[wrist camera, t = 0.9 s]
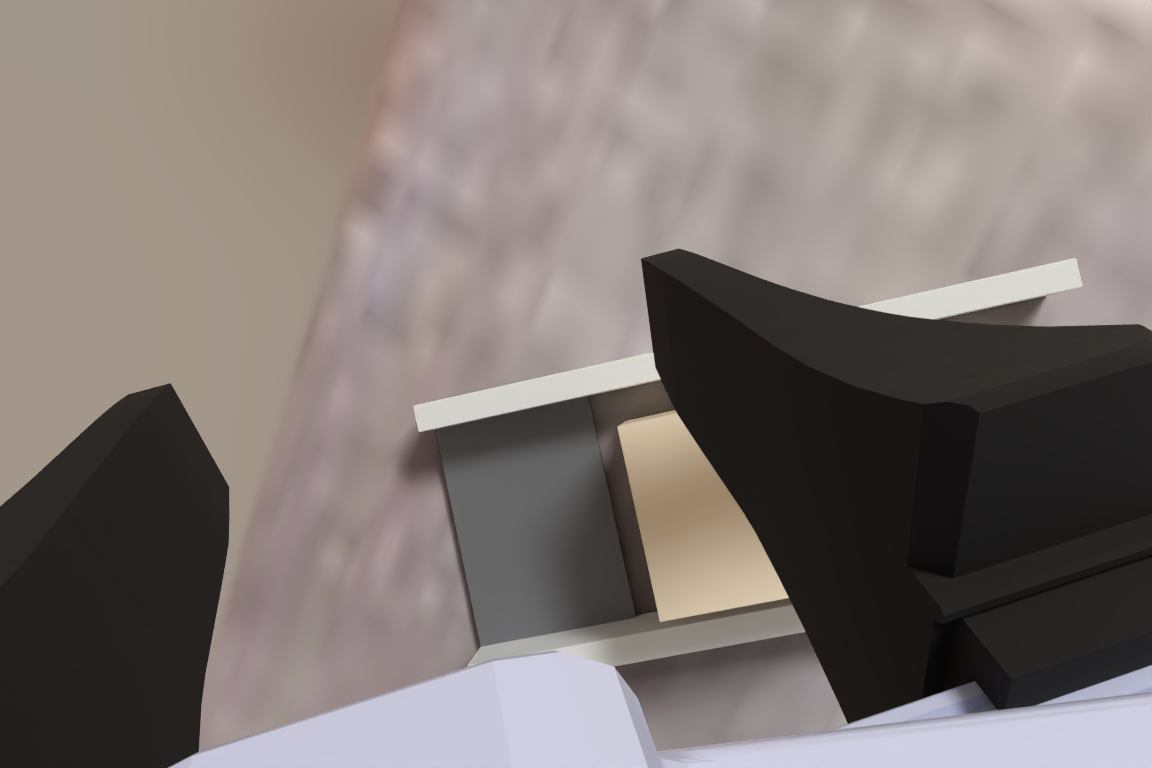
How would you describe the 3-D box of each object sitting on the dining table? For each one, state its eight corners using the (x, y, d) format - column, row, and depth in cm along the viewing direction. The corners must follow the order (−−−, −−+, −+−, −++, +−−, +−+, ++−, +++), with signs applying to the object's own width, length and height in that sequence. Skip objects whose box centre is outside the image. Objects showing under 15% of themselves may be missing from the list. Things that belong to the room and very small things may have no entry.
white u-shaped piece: (1109, 554, 23) (1151, 569, 21) (488, 668, 25) (472, 691, 23) (1041, 269, 24) (1075, 257, 22) (432, 404, 26) (413, 405, 24)
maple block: (853, 539, 24) (902, 576, 19) (660, 576, 25) (660, 622, 20) (817, 379, 24) (856, 375, 19) (626, 420, 25) (617, 426, 20)
